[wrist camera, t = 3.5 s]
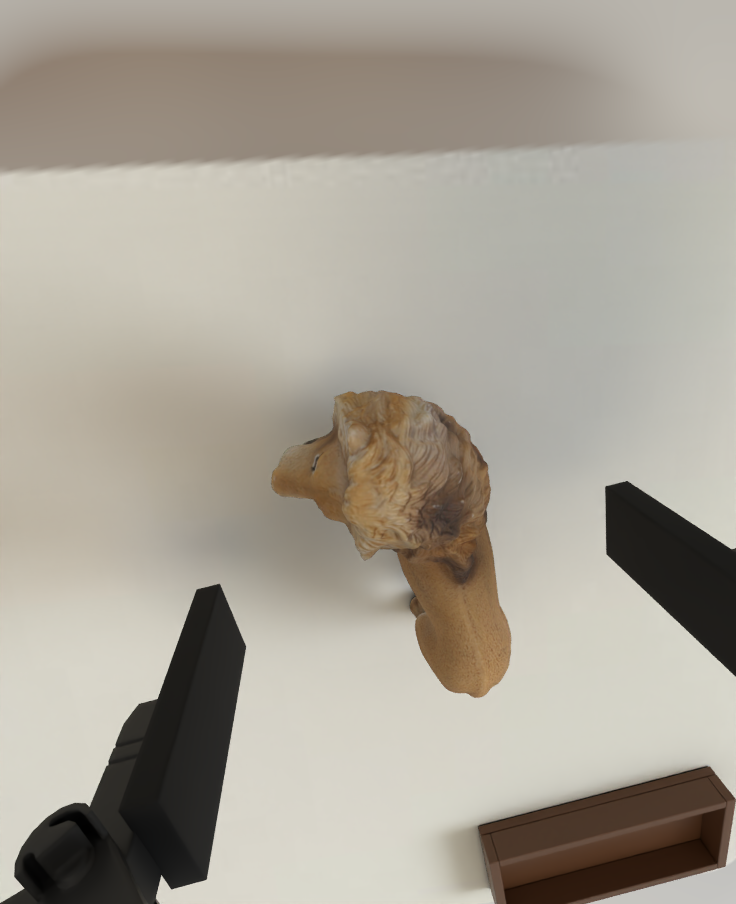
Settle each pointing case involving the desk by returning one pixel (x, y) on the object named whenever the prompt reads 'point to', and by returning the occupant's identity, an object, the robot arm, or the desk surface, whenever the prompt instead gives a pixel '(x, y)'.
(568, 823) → the tray
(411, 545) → the lion figurine
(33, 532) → the desk surface
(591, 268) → the desk surface
